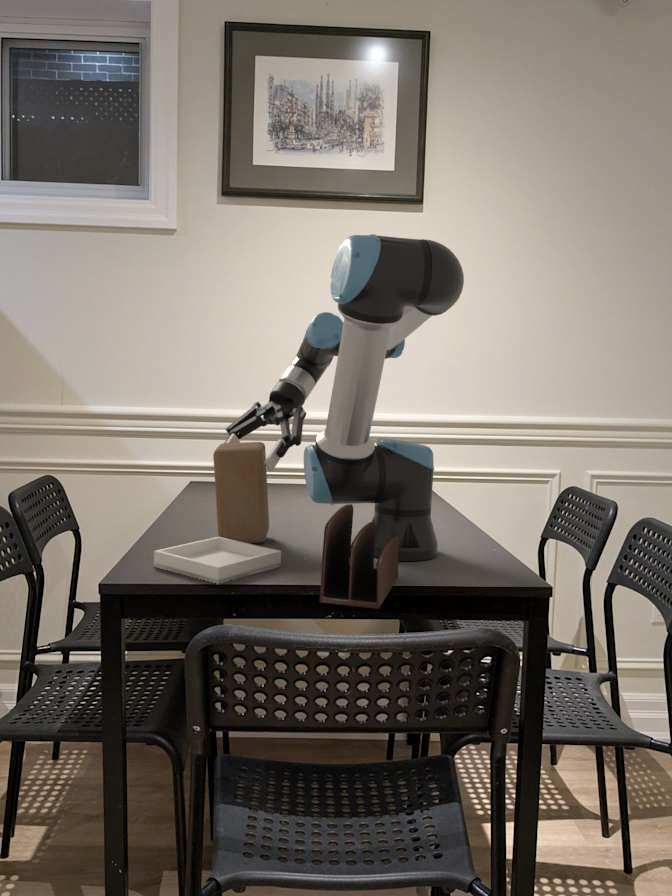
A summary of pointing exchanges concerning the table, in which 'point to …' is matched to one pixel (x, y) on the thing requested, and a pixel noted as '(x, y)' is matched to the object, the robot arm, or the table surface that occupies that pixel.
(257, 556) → the tray
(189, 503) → the table surface
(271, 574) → the table surface
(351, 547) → the letter holder
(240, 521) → the block
